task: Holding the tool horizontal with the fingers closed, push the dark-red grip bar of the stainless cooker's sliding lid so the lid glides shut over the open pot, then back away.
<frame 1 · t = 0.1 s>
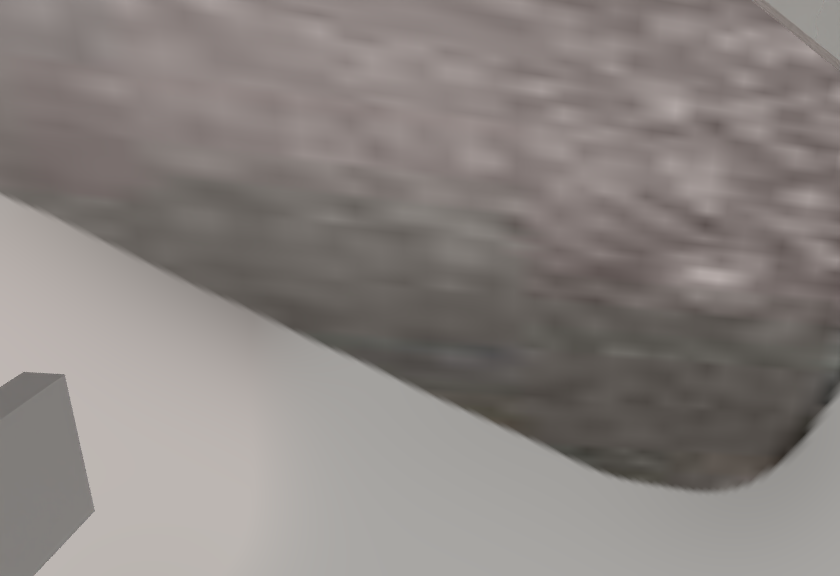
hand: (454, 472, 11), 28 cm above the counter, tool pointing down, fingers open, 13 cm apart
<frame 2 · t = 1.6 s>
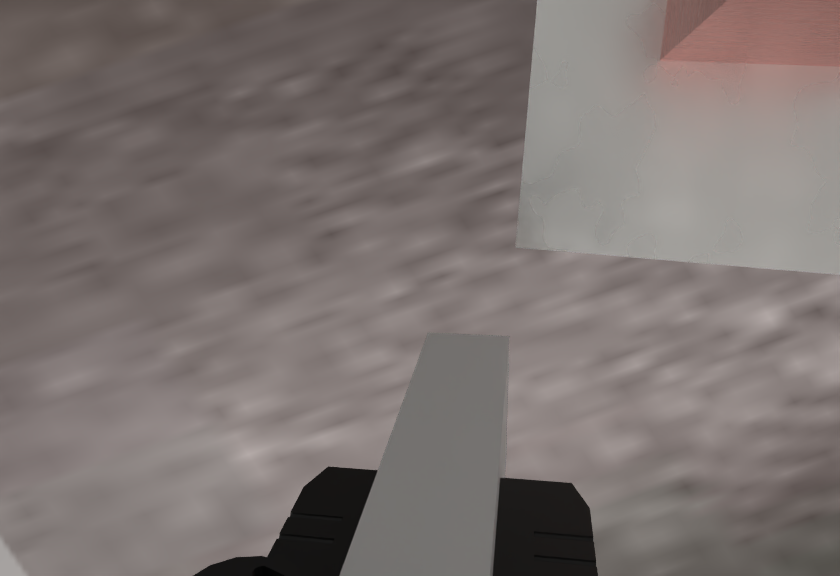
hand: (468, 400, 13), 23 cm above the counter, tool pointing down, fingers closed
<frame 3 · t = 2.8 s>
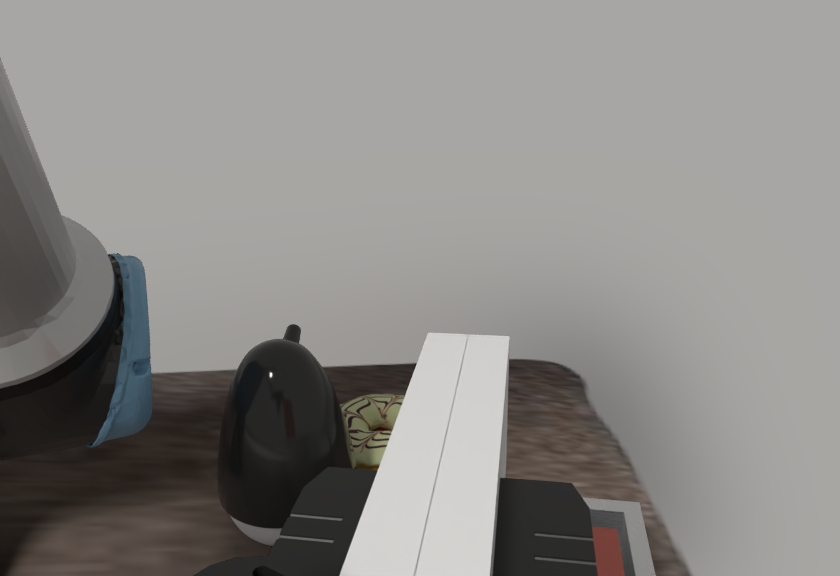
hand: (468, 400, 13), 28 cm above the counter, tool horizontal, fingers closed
decorated donut: (382, 454, 61), on the counter
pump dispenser: (293, 522, 52), on the counter
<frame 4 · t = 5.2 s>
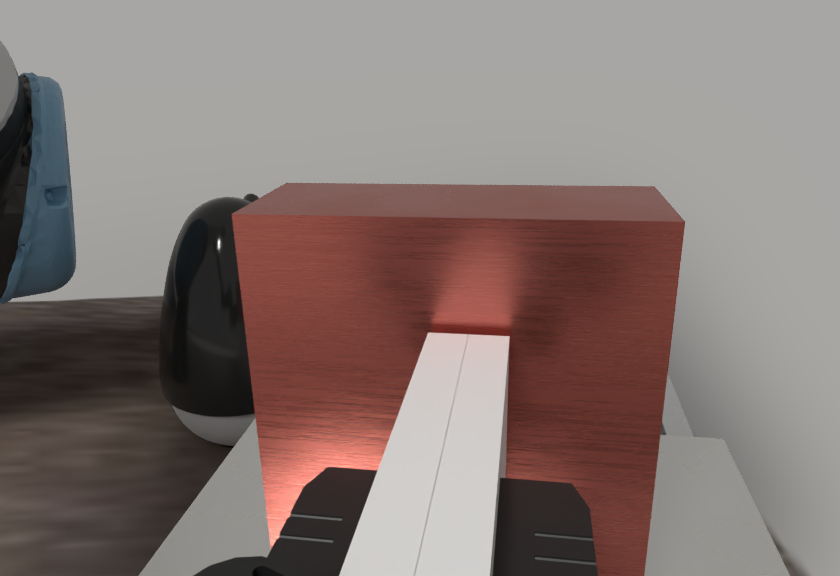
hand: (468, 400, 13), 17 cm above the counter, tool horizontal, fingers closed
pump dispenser: (252, 426, 45), on the counter
lid: (456, 445, 15), point 15 cm above the counter, slide at 9.7 cm, touching gripper
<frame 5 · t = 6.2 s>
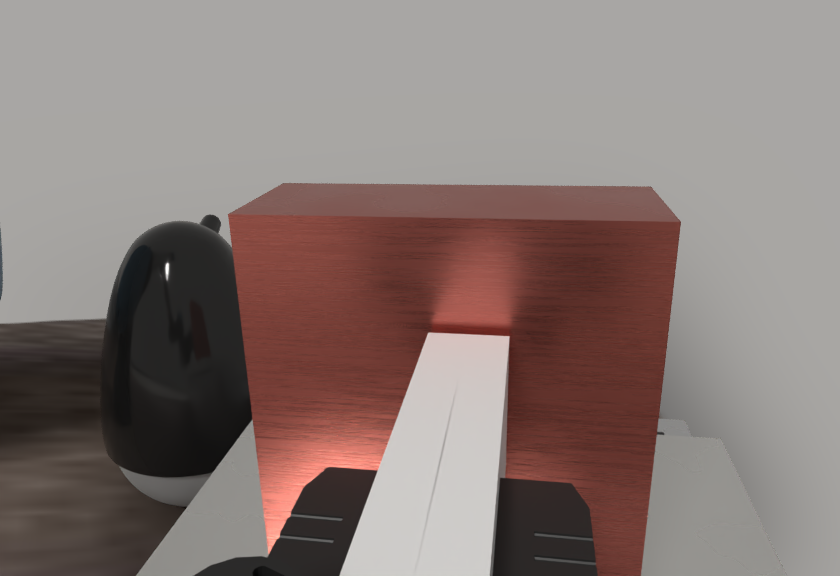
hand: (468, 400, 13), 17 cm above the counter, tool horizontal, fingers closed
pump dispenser: (212, 478, 39), on the counter
lid: (453, 445, 15), point 15 cm above the counter, slide at 3.8 cm, touching gripper
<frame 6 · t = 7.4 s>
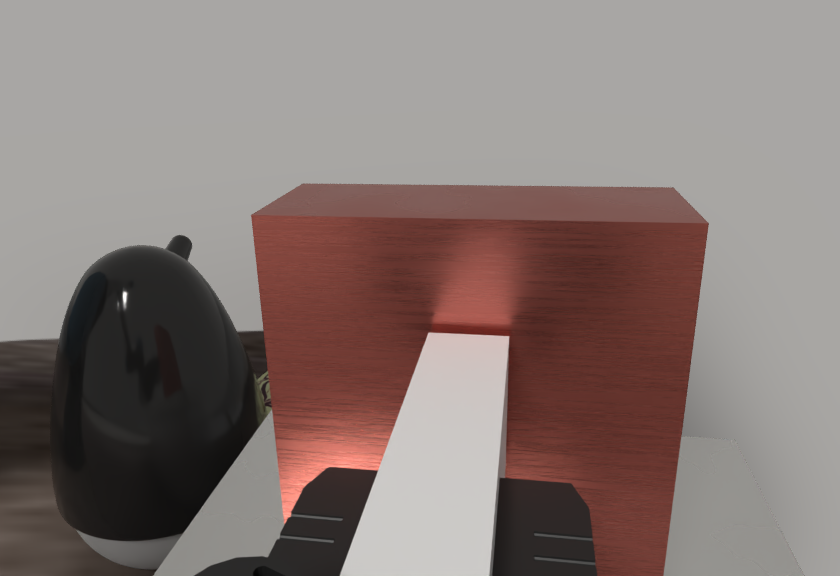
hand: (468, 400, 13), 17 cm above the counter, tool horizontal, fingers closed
decorated donut: (327, 436, 44), on the counter
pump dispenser: (182, 531, 35), on the counter
lid: (473, 446, 15), point 15 cm above the counter, slide at -0.8 cm, touching gripper
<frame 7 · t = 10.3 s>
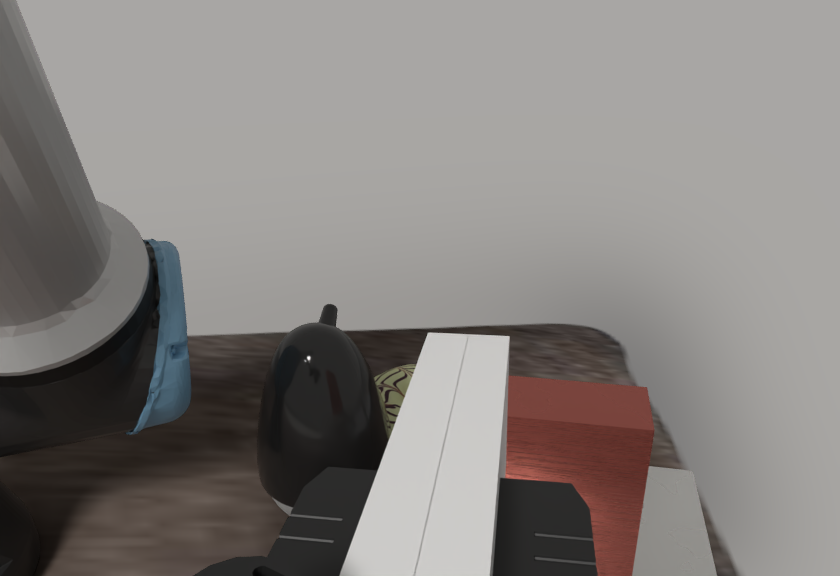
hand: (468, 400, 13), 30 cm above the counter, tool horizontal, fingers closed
decorated donut: (418, 426, 61), on the counter
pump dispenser: (332, 498, 53), on the counter
lid: (545, 498, 31), point 15 cm above the counter, slide at -0.9 cm
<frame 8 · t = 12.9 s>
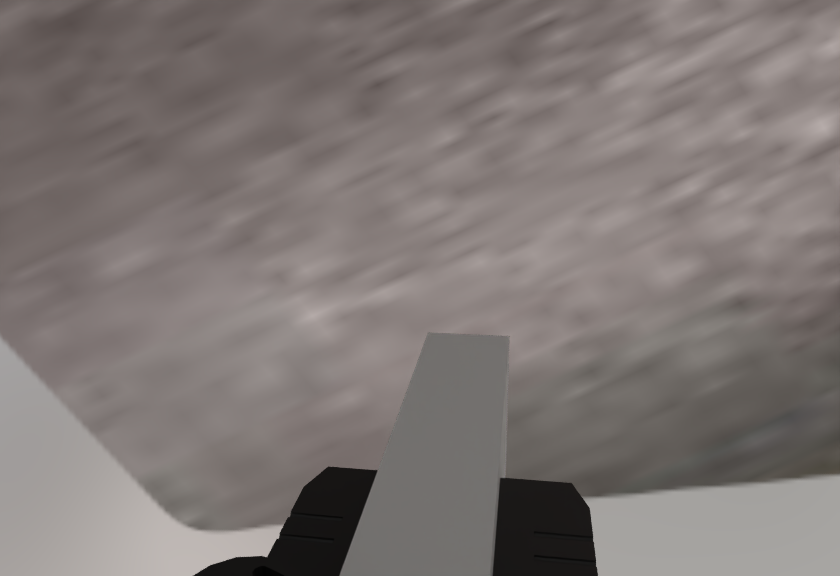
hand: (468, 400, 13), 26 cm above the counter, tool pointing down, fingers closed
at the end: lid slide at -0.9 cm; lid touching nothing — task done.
